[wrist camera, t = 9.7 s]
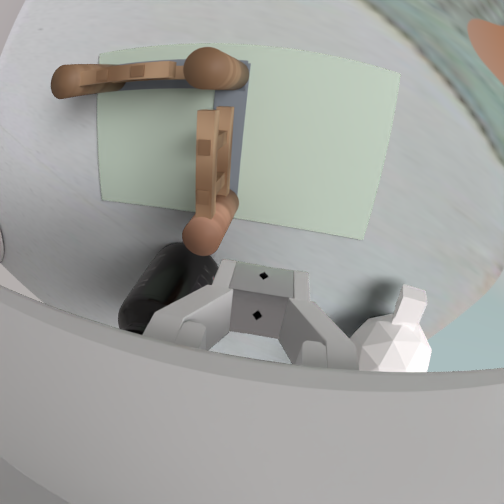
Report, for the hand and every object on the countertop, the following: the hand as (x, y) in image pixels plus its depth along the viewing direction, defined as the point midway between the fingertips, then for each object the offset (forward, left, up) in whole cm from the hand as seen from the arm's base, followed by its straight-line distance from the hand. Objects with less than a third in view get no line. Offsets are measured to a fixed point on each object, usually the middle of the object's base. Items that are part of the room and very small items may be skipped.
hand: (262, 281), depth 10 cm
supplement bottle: (-8, -11, -14) cm, 19 cm away
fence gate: (-4, +1, -13) cm, 14 cm away
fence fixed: (-10, +7, -14) cm, 18 cm away
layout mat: (-5, +3, -14) cm, 15 cm away
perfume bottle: (+13, -13, -14) cm, 23 cm away
